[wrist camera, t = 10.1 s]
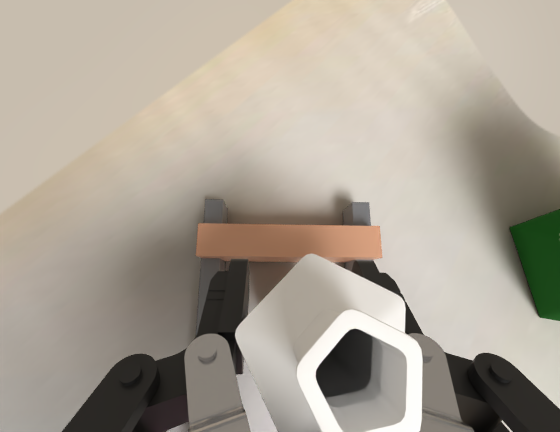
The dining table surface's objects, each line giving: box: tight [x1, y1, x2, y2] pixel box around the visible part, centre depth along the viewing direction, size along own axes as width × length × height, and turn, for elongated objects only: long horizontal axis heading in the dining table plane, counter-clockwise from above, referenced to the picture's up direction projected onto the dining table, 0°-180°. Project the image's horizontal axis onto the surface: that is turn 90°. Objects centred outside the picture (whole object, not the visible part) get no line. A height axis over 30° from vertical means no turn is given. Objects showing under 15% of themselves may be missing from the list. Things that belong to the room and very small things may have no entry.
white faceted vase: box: [235, 254, 423, 432], centre depth 12 cm, size 5×4×15 cm
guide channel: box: [196, 199, 382, 335], centre depth 17 cm, size 11×24×4 cm, turn 0°
